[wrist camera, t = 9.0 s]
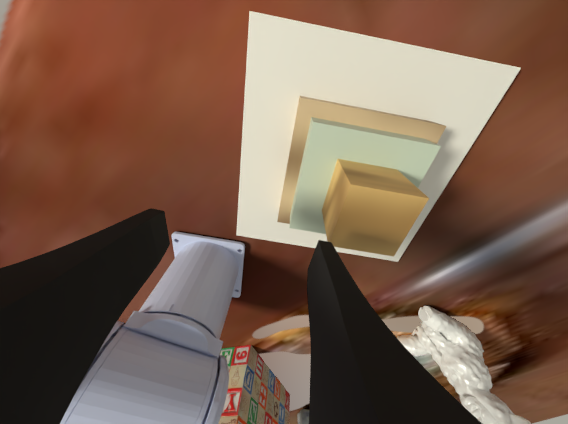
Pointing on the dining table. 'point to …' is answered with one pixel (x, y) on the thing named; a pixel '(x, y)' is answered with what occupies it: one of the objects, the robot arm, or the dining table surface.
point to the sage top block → (353, 147)
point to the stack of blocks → (252, 390)
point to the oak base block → (348, 116)
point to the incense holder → (303, 417)
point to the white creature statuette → (459, 364)
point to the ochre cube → (370, 207)
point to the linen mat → (355, 92)
